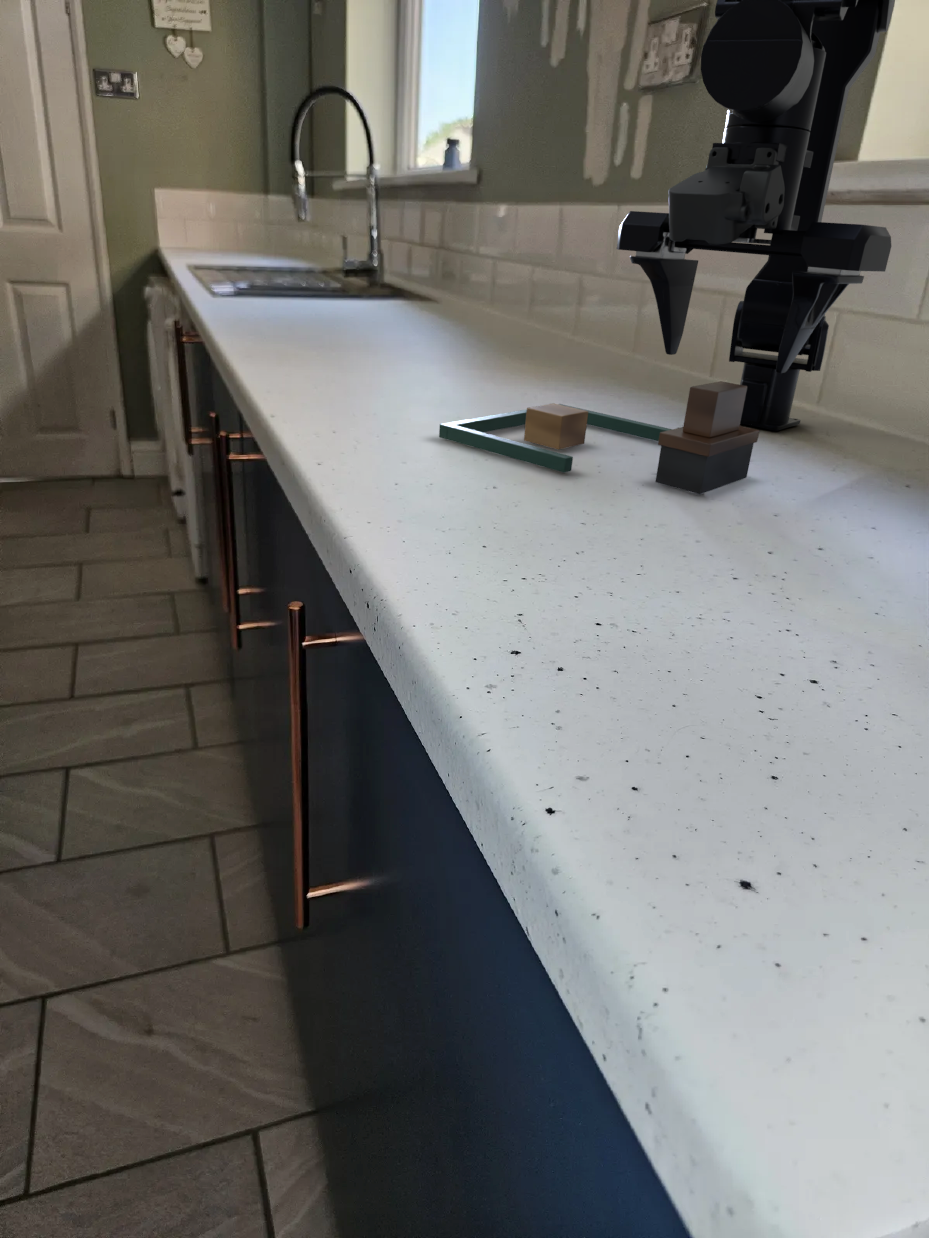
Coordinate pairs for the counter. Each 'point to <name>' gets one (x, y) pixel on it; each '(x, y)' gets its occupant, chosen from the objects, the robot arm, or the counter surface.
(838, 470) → the counter surface
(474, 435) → the frame
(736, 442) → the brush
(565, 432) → the cork block
